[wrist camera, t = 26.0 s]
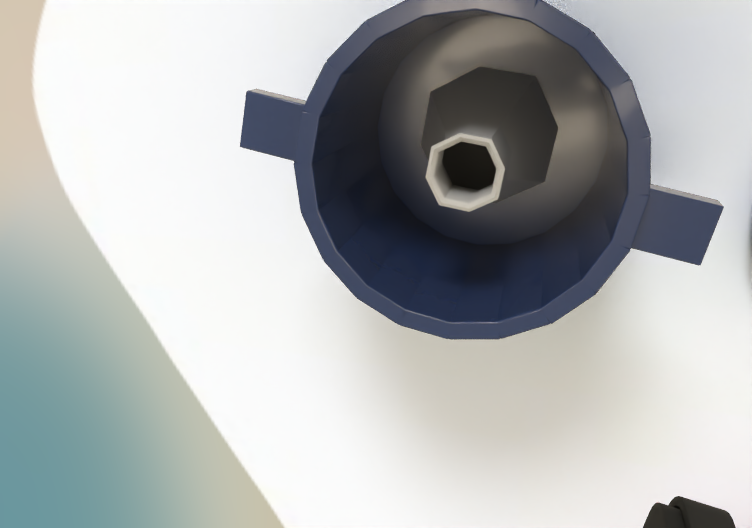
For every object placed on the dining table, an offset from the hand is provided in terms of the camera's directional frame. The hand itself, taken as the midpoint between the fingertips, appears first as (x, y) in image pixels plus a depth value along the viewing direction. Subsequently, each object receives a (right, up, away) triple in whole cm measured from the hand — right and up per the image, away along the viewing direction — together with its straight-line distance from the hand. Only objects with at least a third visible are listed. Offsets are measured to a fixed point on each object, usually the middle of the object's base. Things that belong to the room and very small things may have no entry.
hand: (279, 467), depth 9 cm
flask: (+7, +10, +27) cm, 30 cm away
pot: (+7, +10, +28) cm, 30 cm away
